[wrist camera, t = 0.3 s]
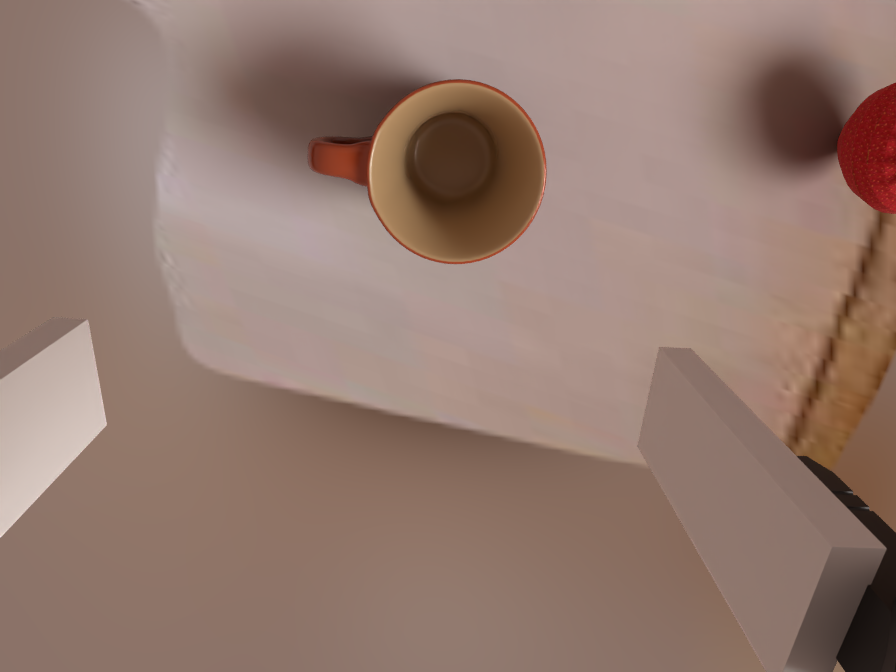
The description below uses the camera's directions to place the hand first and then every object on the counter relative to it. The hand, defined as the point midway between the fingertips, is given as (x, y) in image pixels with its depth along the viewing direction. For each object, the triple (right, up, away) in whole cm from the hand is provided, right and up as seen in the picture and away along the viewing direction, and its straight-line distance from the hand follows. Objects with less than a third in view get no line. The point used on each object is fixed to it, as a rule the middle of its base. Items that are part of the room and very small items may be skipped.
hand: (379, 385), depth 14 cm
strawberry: (+27, +14, +25) cm, 40 cm away
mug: (0, +13, +25) cm, 28 cm away
